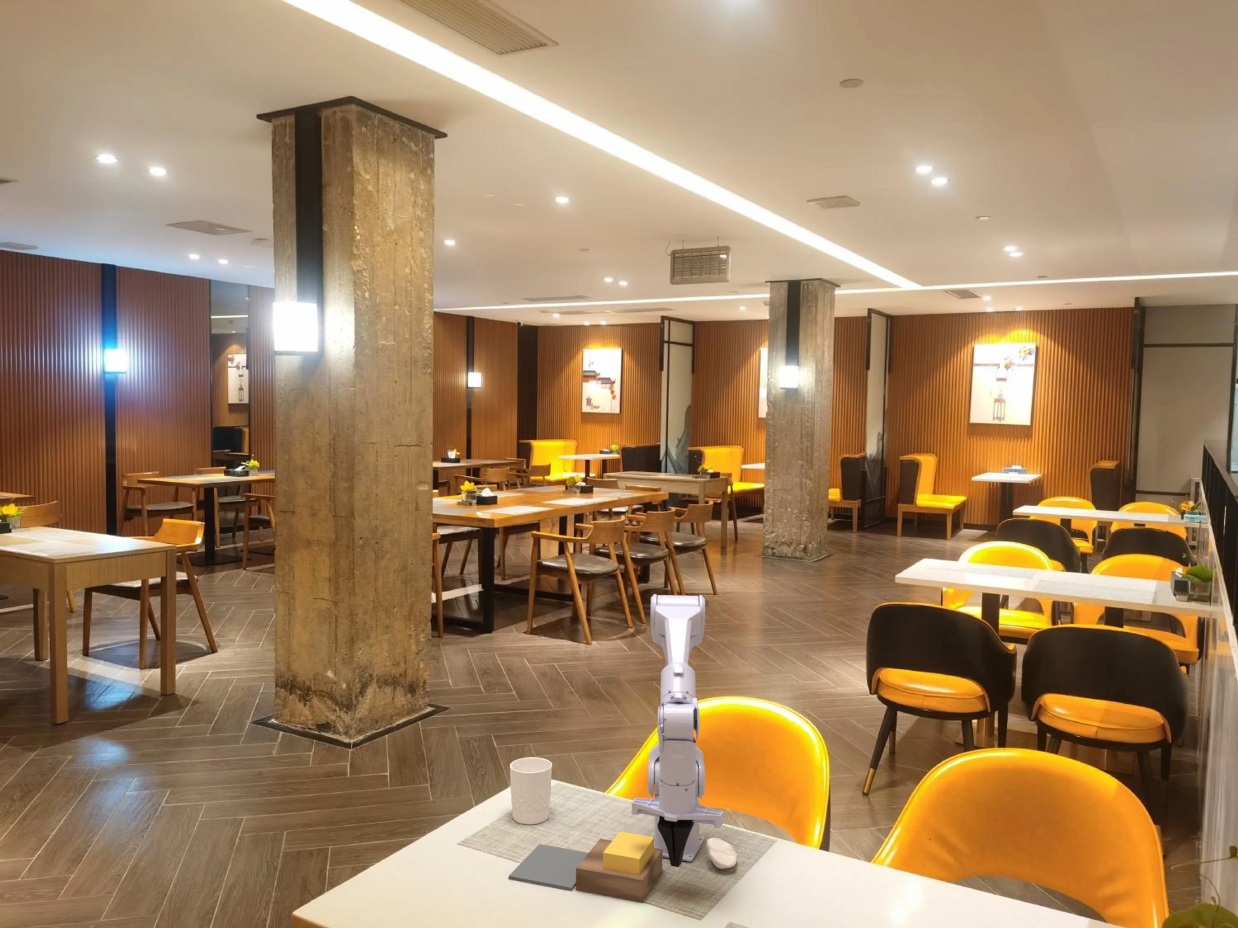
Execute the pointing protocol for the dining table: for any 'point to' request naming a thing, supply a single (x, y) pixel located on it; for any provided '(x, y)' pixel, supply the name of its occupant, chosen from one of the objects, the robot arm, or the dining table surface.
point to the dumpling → (721, 853)
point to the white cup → (530, 789)
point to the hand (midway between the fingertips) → (676, 863)
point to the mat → (550, 867)
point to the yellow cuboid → (628, 853)
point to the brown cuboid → (616, 876)
